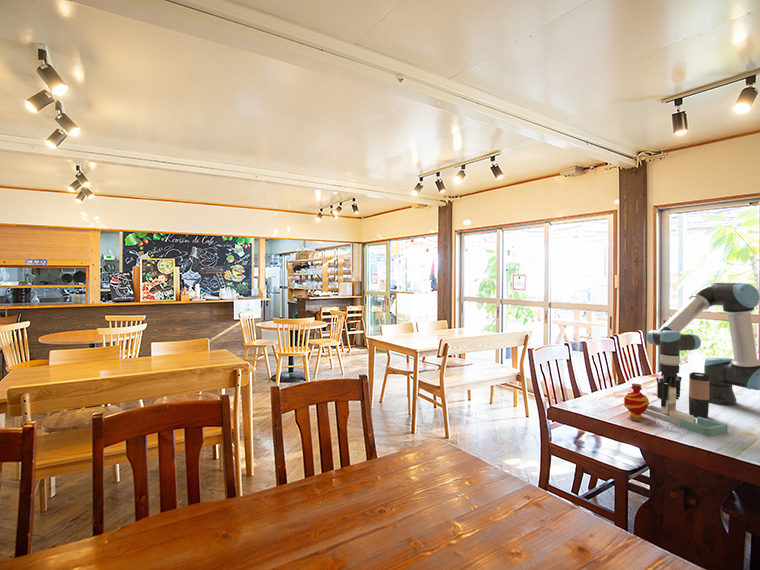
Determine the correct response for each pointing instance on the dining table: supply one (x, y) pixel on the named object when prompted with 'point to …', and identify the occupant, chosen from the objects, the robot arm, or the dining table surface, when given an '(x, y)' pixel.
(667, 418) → the slot rail
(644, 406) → the potion bottle
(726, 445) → the dining table surface
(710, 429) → the tray
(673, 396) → the light wood tall block
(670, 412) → the cube
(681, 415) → the cube
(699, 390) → the travel mug
